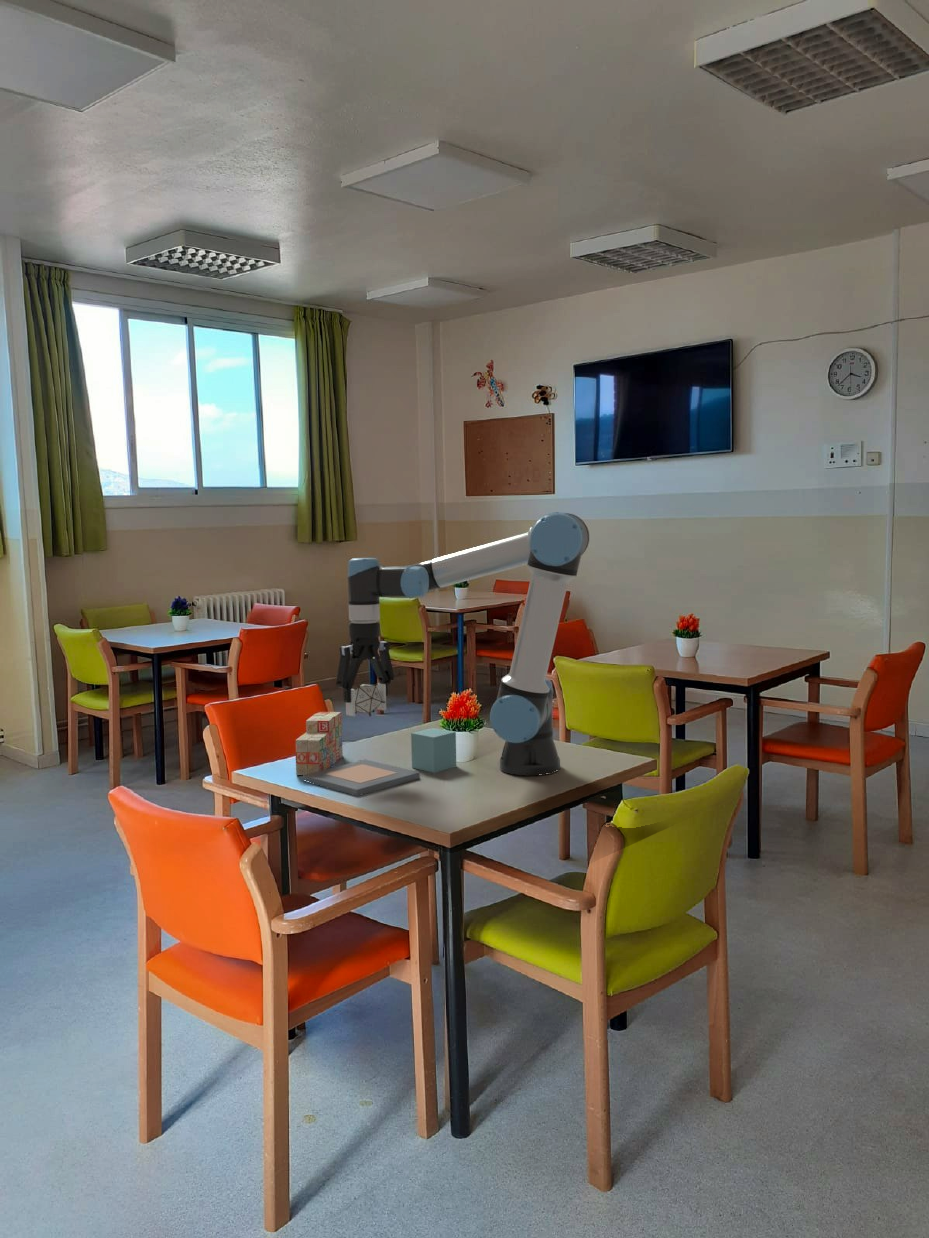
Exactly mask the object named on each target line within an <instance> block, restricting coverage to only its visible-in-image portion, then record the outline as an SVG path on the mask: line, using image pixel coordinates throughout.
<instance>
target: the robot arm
mask: <svg viewBox="0 0 929 1238" xmlns="http://www.w3.org/2000/svg"><path fill="white" fill-rule="evenodd" d="M589 544H590V531H589V528H588V525H587V524H586V523H585V522H584V520H583V519H582V518H580V517H579V516H577V515H576V514H573V513H568V512H559V511H556V512H552V513H548V514H545V515H544V516H542V517H540V519H538V520H537V521H536V523H535V524H534V525H533V526H531V527H529V529H528V531H527V532H524V533H520V534H516V535H512V536H509V537H507V538H503V539H499V540H496V541H493V542H492V541H491V542H489V543H485V544H481V545H478V546H475V547H471V548H468V549H463V550H461V551H457V552H454V553H449V554H446V555H442V556H439V557H436V558H433V559H429V560H428V559H427V560H425V561H421V562H418V563H413V564H408V565H400V566H399V565H398V566H397V565H396V566H395V565H393V566H383V565H380V561H379V559H378V558H377V557H376V558H375V557H356V558H355V557H353V558H351V559H350V560H348V563H347V564H348V566H347V575H346V576H347V590H348V591H347V592H348V620H349V621H351V622H349V624H348V635H349V636H348V637H349V638H350V643H349V645H346V646H343V645H342V646H340V647H339V655H340V657H339V663H338V669H337V676H336V681H335V686H336V687H337V688H340V689H342V692H343V694H342V695H343V697H342V698H343V703H345V715H346V716H350V717H356V714H355V712H356V711H355V690H356V688H355V689H354V688H353V687H354V684H355V680H356V679H357V675H358V671H359V670H360V666H361V665H362V664H363V662H364V661H366V660H368V661H369V662H370V664H371V666H372V669H373V671H374V674H375V675H376V677H377V678H376V679H377V680H378V682H377V683H378V685H377V689H378V691H379V694H380V696H381V699H382V701H385V702H386V703H381V704H380V705H379V706H378V707H377V708H376V709H377V710H380V711H387V697H388V694H389V693H388V690H389V689H388V685H389V684H391V682H392V681H393V680H394V679H395V676H394V670H393V666H392V665H393V664H392V660H391V654H390V642H389V641H384V640H383V641H382V640H381V641H380V640H379V637H381V623H380V622H379V620H380V619H381V612H380V611H381V610H380V609H381V608H380V598H409V599H416V598H424V597H426V595H427V593H429V592H431V591H434V590H438V589H442V588H446V587H449V586H452V585H457V584H459V583H463V582H466V581H470V580H474V579H479V578H483V577H486V576H489V575H493V574H497V573H500V572H504V571H508V570H509V571H510V570H511V569H516V568H519V567H523V566H526V567H527V568H528V570H529V571H530V574H531V577H530V579H529V580H530V581H529V583H528V584H529V585H528V590H527V594H526V597H525V598H526V599H525V602H524V608H523V611H522V614H521V615H522V617H521V620H520V624H519V630H518V634H517V637H516V643H515V647H514V651H513V655H512V661H511V664H510V668H509V669H510V670H509V672H508V674H506V675H505V676H503V677H502V678H501V681H500V685H499V688H498V692H497V696H496V700H495V701H494V703H493V704H492V706H491V709H490V712H489V722H490V725H491V729H492V730H493V731H494V733H495V734H496V735H497V736H498V737H499V738H501V739H502V740H503V741H505V742H504V746H503V749H502V753H501V756H500V759H499V769H500V771H501V772H503V773H506V774H509V773H510V774H509V775H513V774H516V775H515V776H522V775H526V776H525V777H527V775H538V776H540V775H539V774H546V773H552V772H554V771H556V770H559V769H560V770H561V759H560V756H559V754H558V751H557V747H556V744H555V740H554V735H553V734H554V721H553V720H554V715H553V713H554V711H553V710H554V708H553V704H554V703H553V701H554V696H553V694H554V687H553V682H552V681H551V679H549V678H547V675H548V670H549V667H550V661H551V658H552V653H553V649H554V645H555V640H556V637H557V632H558V628H559V623H560V621H561V620H560V618H561V616H562V615H561V614H562V611H563V606H564V602H565V598H566V592H567V589H568V584H569V582H570V581H572V580H574V579H575V578H576V577H577V575H578V570H579V566H580V563H581V558H582V555H583V554H584V553H585V552H586V550H587V548H588V547H589ZM560 770H559V771H560ZM552 774H553V773H552Z"/></svg>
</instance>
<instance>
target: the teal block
mask: <svg viewBox="0 0 929 1238" xmlns="http://www.w3.org/2000/svg"><path fill="white" fill-rule="evenodd" d="M410 734H411V736H410V739H411V740H410V741H411V743H410V746H411V768H412V769H417V770H419V771H420V770H421V771H424V772H425V771H426V772H429V773H434V774H435V773H438V772H442V771H445V770H449V769H453V768H456V767H457V736H456V735H457V731H453V730H447V729H441V728H437V727H432V728H428V729H427V728H426V729H423V730H419V731H415V732H411V733H410Z"/></svg>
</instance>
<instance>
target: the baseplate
mask: <svg viewBox="0 0 929 1238" xmlns="http://www.w3.org/2000/svg"><path fill="white" fill-rule="evenodd" d="M420 773H421V772H420V771H417V770H412V769H407V768H403V767H400V766H394V765H391V764H386V763H382V762H378V761H373V760H371V759H369V760H368V759H361V760H358V761H354V762H350V763H346V764H345V763H344V764H342V765H338V766H334V767H330V768H329V769H326V770H322V771H318V772H314V773H310V774H306V775H303V776H302V781H303V780H306V781H309V782H311V783H314V784H313V785H315V784H318V785H320V786H319V787H322V786H323V788H326V787H328V788H327V789H329V788H331V789H330V790H333V789H334V790H333V791H336V790H339V791H338V792H340V791H342V792H341V793H344V794H347V793H348V795H351V794H353V795H352V796H354V795H356V796H355V797H358V795H359V796H362V795H361V794H363V795H366V794H369V793H372V792H376V791H379V790H380V791H381V790H383V789H387V788H390V787H395V786H398V785H400V784H404V783H405V784H406V783H408V782H411V781H414V780H418V779H420V777H421V776H420ZM311 783H310V784H311ZM318 785H317V786H318Z"/></svg>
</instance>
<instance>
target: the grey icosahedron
mask: <svg viewBox="0 0 929 1238" xmlns="http://www.w3.org/2000/svg"><path fill="white" fill-rule="evenodd" d="M378 683H379V682H376V683H375V684H368V683H364V681H362V680H361V681H360V684H357V688H355V715H357V713H363V714H367V715H368V716H369V718H370V717H372V714H371V713H375V710H376V709H377V707H378V706H379V705H380V704H381V703H386V704H387V701H386V702H385V701H382V699H381V696H380V694H379V691H378V689H377V685H378Z"/></svg>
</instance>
